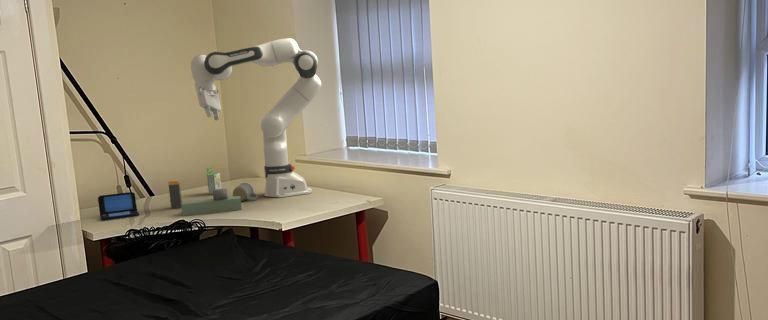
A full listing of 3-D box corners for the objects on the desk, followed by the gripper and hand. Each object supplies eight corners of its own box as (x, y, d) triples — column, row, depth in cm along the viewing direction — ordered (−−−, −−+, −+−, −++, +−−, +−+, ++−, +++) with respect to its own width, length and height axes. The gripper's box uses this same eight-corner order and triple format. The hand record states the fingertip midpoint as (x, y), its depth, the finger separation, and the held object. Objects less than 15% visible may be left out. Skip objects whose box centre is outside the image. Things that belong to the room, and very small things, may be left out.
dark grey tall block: (182, 205, 328) (179, 178, 326) (181, 208, 322) (178, 180, 320) (172, 206, 327) (169, 179, 325) (171, 209, 321) (168, 181, 319)
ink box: (216, 194, 349) (213, 167, 347) (208, 195, 350) (205, 168, 348) (222, 192, 356) (219, 165, 354) (214, 192, 357) (212, 165, 355)
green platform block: (240, 204, 322) (239, 184, 321) (241, 209, 310) (239, 189, 309) (183, 210, 317) (181, 190, 315) (182, 215, 305) (180, 195, 303)
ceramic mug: (232, 202, 327) (230, 186, 326) (239, 198, 335) (237, 182, 334) (254, 202, 325) (252, 185, 324) (260, 198, 333) (259, 182, 332)
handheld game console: (101, 222, 304) (98, 200, 303) (99, 216, 317) (97, 195, 315) (139, 216, 311) (137, 195, 309) (136, 211, 323) (134, 191, 321)
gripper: (204, 83, 317) (212, 113, 316) (219, 92, 338) (227, 119, 336) (191, 87, 318) (199, 117, 316) (207, 95, 338) (214, 123, 336)
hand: (213, 118), depth 326 cm, fingers open, 8 cm apart
